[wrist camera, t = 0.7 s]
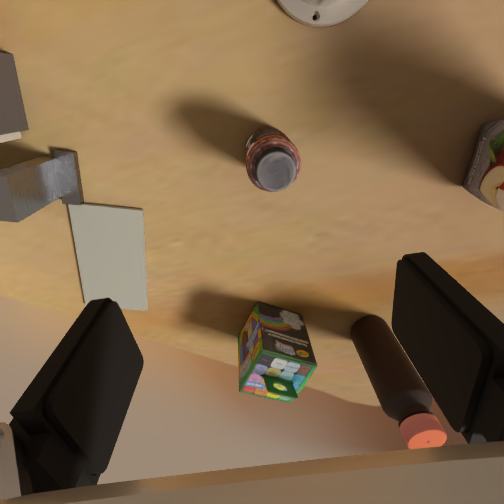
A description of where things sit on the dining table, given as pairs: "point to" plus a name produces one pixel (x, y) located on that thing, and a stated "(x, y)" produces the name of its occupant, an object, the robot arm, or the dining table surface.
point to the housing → (39, 185)
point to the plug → (10, 101)
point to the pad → (111, 253)
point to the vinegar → (397, 383)
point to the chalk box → (274, 354)
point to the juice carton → (488, 166)
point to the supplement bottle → (271, 160)
